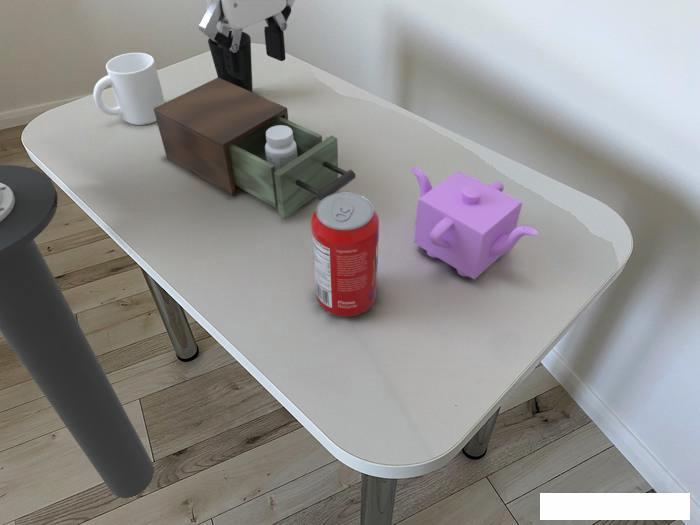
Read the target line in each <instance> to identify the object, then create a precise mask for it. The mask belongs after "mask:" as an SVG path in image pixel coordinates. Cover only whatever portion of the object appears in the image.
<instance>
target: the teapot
mask: <svg viewBox="0 0 700 525" xmlns="http://www.w3.org/2000/svg"><path fill="white" fill-rule="evenodd" d="M410 171H411V172H412V174H413V175H414V176H415V177H416V179H417V181H418V185H419V193H420V194H419V198H418V199H417V205H416V216H415V219H416V220H415V225H414V226H415V228H414V238H413V243H414V244H415V245H416V246H418V247H420V248H421V249H423V250H425V251H426V254H427V256H429V257H431V258H437V259H439V260H441V261H443V262H444V263H446V264H448V265H449V266H450V267H452V268H454V269H456V272H457V274H458V275H460V276H461V277H469V278H470V279H472V280H476V278H478V277H479V276H480V275H481V274H482V273H483V272H485V271H486V270H487V269H488V268H489V267H490V266H492V264H493V263H495V262H496V261H497V260H498V259H500V257H501V256H503V255H504V254H507V253H508V252H510V251H511V250H512V249H513V248H514V247H515V245H516V244H517V243H518V241H520V240H521V238H522V237H525V236H538V235H539V232H538V231H537V230H536V229H535V228H533V227H531V226H528V225H519V226H517V225H518V221H519V218H520V214H521V210H522V206H523V202H522V201H520V200H519V199H516V198H514V197H513V196H511V195H510V194H507V193H505V192H504V188H505V187H504V184H503V183H502V182H500V181H494V182H491V183H489V184H487V183H485V182H483V181H481V180H479V179H477V178H475V177H473V176H471V175H469V174H467V173H465V172H463V171H461V170H457V171H456V172H454V173H452V175H450V176H449V177H447V178H445V179H444V180H443V181H441V182H440V183H439V184H437V185H436V186H434V187H433V186H432V184H431V182H430V181H431V180H430V179H429V177H428V176H427V174H426V173H425V172H424V171H423V170H422V169H420V168H418V167H413V166H412V167H410Z"/></svg>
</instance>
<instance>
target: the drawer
mask: <svg viewBox="0 0 700 525" xmlns="http://www.w3.org/2000/svg"><path fill="white" fill-rule="evenodd" d="M278 125H283V126H288V127H290V128H291V129H292V131H293V140H294V141H295V142H296V146H297V158H296V159H294V160H293V161H291V162H290V163H288V164H287V165H285V166H283V167H282V168H280V169H279V170H277V171H276V172H275V166H274V165H272V164H270V163H268V162H267V160H266V152H265V145H266V143H267V140H266V131H267V130H268V129H269V128H271V127H273V126H278ZM228 152H229V157H230V163H231V168H232V174H233V179H234V185H236V186H238V187H239V188H241V189H243V190H242V191H245V192H246V193H248V194H250V195H251V196H254V197H255V198H257V199H259V200H260V201H263V202H264V203H266V204H268V205H270V206H271V207H273V208H275V209H276V208H277V209H278V215H279V216H280V217H281V218H283V219H286V218H288V217H289V216H290V215H292V214H293V213H295V212H296V211H298V210H299V209H300V208H301V207H303V206H304V205H305V204H307V203H308V202H310V201H311V200H313V199H314V198H315V197H317V199H318V200H319V202H320V201H321V200H323V199H324V198H325V197H327V196H329V195H332V194H335V193H338V192H339V191H340V190H341V189H342V188H344V187H345V186H347V185H348V184H349V183H351V182H352V181H354V180H355V179H356V173H355V172H354V170H352V169H349V170H347V171H346V170H345V169H343V168H341V167H339V150H338V137H336V136H334V135H330V136H328V137H326V138H325V139H324V140H323V135H322V134H320V133H318V132H315V131H313V130H312V129H309V128H306V127H304V126H302V125H300V124H298V123H297V122H296V123H295V122H293V121H291V120H289V119H288V120H287V119H285V118H282V117H279V118H277V119H275V120H273V121H272V122H270V123H268V124H266V125H265V126H263V127H261V128H259V129H258V130H256V131H254V132H253V133H251V134H249V135H247V136H246V137H244V138H242V139H240V140H239V141H237V142H235V143H233V144H232V145H230V146H228ZM339 175H340V176H339Z"/></svg>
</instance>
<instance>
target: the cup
mask: <svg viewBox="0 0 700 525" xmlns="http://www.w3.org/2000/svg"><path fill="white" fill-rule="evenodd" d="M231 34H232V30H230V31H229V36H228V38H229V39H231ZM251 39H252V38H251V35H249V33H247V32H244V31H242V34H241V39H240V44H239V49H240V50H242V51H243V55H244V63H245V70H246V79H244V80H239V79H237V78H235V77H233V76H231V75H229V74H228V73H227V70H226V66H225V60H224V53H223V48H222V47H220V46H218V44H216V43H215V42H213V41H212V40H211V39H210V38H209V37H208V39H207V43H208V47H209V51H210V54H211V58H212V61H213V65H214V69H215V72H216V75H217V78H221V79H223V80H225V81H227V82H230V83H232V84H234V85H236V86H239V87H241V88H243V89H245V90H248V91H250V92H252V93H254V92H253V66H252V65H253V64H252V40H251Z"/></svg>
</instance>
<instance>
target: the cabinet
mask: <svg viewBox="0 0 700 525" xmlns="http://www.w3.org/2000/svg"><path fill="white" fill-rule="evenodd" d="M288 111H289V110H288V107H287V106H284V105H282V104H279V103H277V102H275V101H272V100H270V99H268V98H266V97H263V96H261V95H258V94H256V93H254V92H253V93H252V92H250V91H248V90H245V89H243V88H241V87H239V86H236V85H234V84H232V83H230V82H227V81H225V80H223V79H221V78H218V77H216V78H213V79H212V80H210V81H207V82H205V83H203V84H201V85H199V86H197V87H195V88H193V89H191V90H189V91H187V92H185V93H182V94H181V95H179V96H177V97H174V98H172V99H171V100H168V101H165V103H164V104H162V105H160V106H158V107H156V108H154V113H155V116H156V120H157V121H156V123H157V127H158V131H159V134H160V138H161V142H162V146H163V149H164V153H165V157H166V159H167V160H169V161H170V162H172V163H174V164H175V165H177V166H179V167H181V168H182V169H184V170H186V171H188V172H189V173H191V174H193V175H194V176H196V177H198V178H200V179H202V180H203V181H205V182H207V183H208V184H210V185H212V186H214V187H215V188H217V189H219V190H221V191H222V192H224V193H226V194H227V195H229V196H231V197H235V195H237V194H239V193H240V192H242V191H244V190H243V189H241V188H239V187H238V186H236V185H234V179H233V174H232V168H231V163H230V157H229V152H228V146H230V145H232V144H233V143H235V142H237V141H239V140H240V139H242V138H244V137H246V136H247V135H249V134H251V133H253V132H254V131H256V130H258V129H259V128H261V127H263V126H265V125H266V124H268V123H270V122H272V121H273V120H275V119H277V118H279V117H282V118H285V119H287V120H289V113H288Z"/></svg>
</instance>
